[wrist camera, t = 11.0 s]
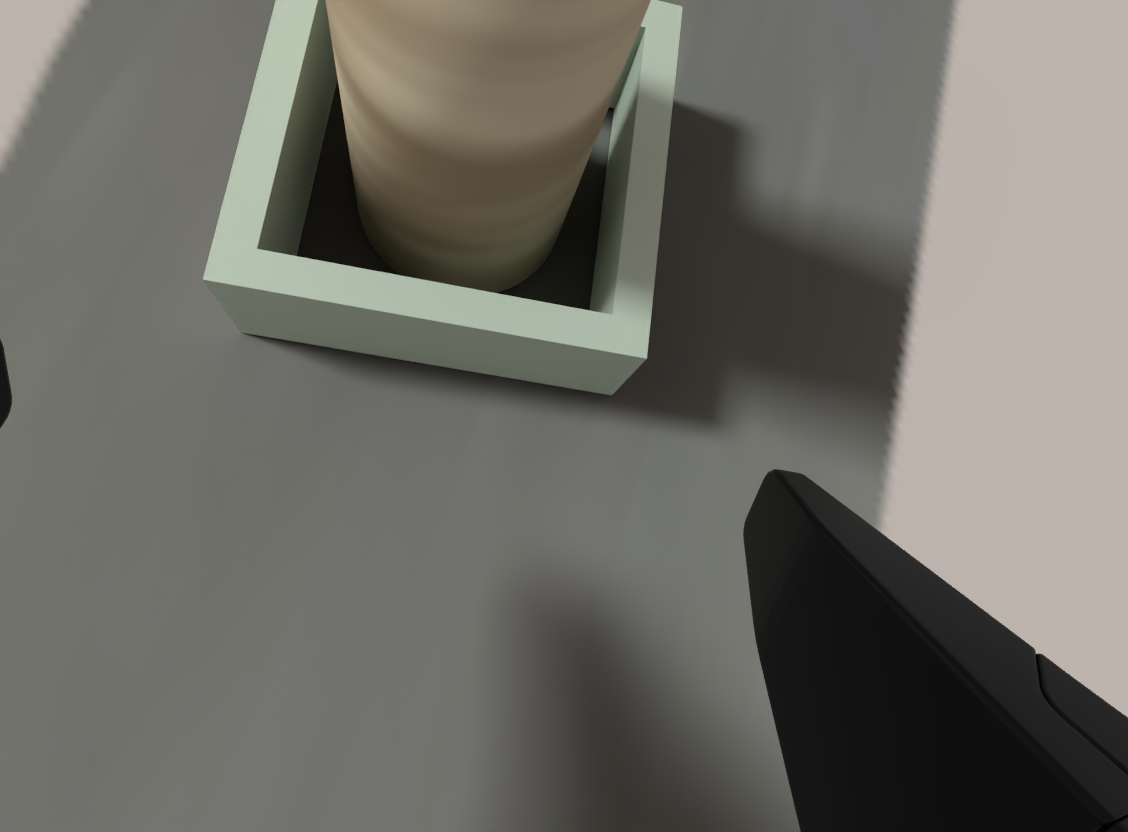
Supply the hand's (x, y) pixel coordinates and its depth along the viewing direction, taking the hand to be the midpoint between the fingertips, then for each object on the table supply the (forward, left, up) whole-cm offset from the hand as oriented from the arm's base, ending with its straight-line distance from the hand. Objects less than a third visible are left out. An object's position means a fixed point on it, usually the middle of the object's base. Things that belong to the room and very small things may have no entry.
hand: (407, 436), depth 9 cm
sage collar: (+6, -4, -8) cm, 11 cm away
